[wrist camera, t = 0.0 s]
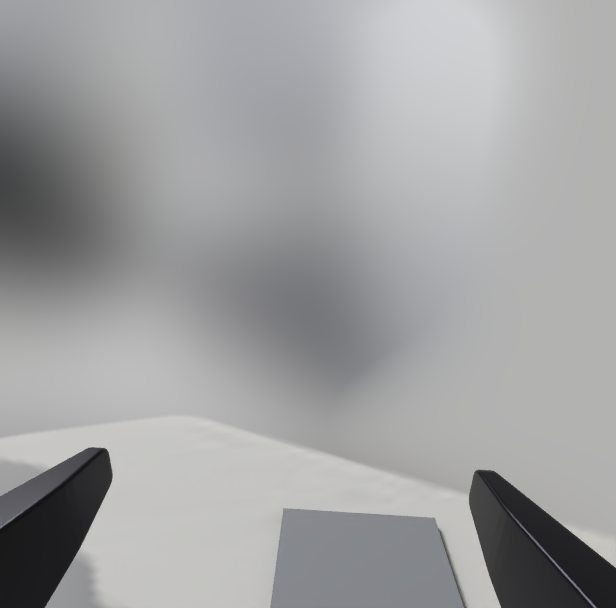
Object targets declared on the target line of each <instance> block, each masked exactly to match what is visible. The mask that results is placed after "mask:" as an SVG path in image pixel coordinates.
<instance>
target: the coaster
mask: <svg viewBox="0 0 616 608" xmlns="http://www.w3.org/2000/svg"><path fill="white" fill-rule="evenodd" d="M271 608H464V606H463V603H462V600H461V597H460V594H459V591H458V588H457V585H456V582H455V579H454V576H453V573H452V570H451V566H450V563H449V560H448V557H447V554H446V551H445V548H444V545H443V542H442V539H441V536H440V533H439V530H438V527H437V524H436V521H435V518H427V517H411V516H395V515H380V514H364V513H348V512H332V511H317V510H301V509H285V508H284V510H283V517H282V525H281V532H280V540H279V547H278V555H277V562H276V570H275V578H274V585H273V593H272V600H271Z"/></svg>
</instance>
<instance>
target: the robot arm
mask: <svg viewBox="0 0 616 608" xmlns="http://www.w3.org/2000/svg"><path fill="white" fill-rule="evenodd" d="M112 476H113V475H112V468H111V463H110V457H109V452H108V450H107V449H105V448H94V447H92V448H88V449H86V450H84V451H82V452H80V453H78V454H76V455H75V456H73V457H71V458H69V459H67V460H66V461H64V462H62V463H60V464H58V465H57V466H55V467H53V468H51V469H49V470H48V471H46V472H44V473H42V474H40V475H38V476H37V477H35V478H33V479H31V480H29V481H28V482H26V483H24V484H22V485H20V486H19V487H17V488H15V489H13V490H11V491H9V492H8V493H6V494H4V495H2V496H0V608H45V606H46V605H47V603H48V601H49V600H50V598H51V596H52V594H53V593H54V591H55V590H56V588H57V586H58V584H59V583H60V581H61V579H62V578H63V576H64V574H65V573H66V571H67V569H68V568H69V566H70V564H71V563H72V561H73V559H74V557H75V556H76V554H77V552H78V550H79V549H80V547H81V545H82V543H83V541H84V539H85V537H86V535H87V533H88V531H89V529H90V527H91V524H92V522H93V520H94V518H95V516H96V514H97V512H98V510H99V508H100V506H101V504H102V502H103V500H104V498H105V495H106V493H107V491H108V489H109V487H110V485H111V482H112ZM469 505H470V509H471V513H472V516H473V520H474V523H475V527H476V530H477V534H478V538H479V541H480V545H481V548H482V552H483V555H484V559H485V562H486V566H487V569H488V572H489V575H490V579H491V581H492V584H493V587H494V590H495V592H496V595H497V597H498V600H499V603H500V605H501V608H616V568H615V567H614V566H613V565H611V564H610V563H609V562H608V561H606V560H605V559H604V558H603V557H601V556H600V555H599V554H598V553H596V552H595V551H594V550H593V549H591V548H590V547H589V546H588V545H586V544H585V543H584V542H583V541H581V540H580V539H579V538H578V537H576V536H575V535H574V534H573V533H571V532H570V531H569V530H568V529H566V528H565V527H564V526H563V525H561V524H560V523H559V522H558V521H556V520H555V519H554V518H553V517H551V516H550V515H549V514H548V513H546V512H545V511H544V510H542V509H541V508H540V507H539V506H538V505H536V504H535V503H534V502H533V501H531V500H530V499H529V498H527V497H526V496H525V495H524V494H523V493H521V492H520V491H519V490H517V489H516V488H515V487H514V486H513V485H511V484H510V483H509V482H508V481H506V480H505V479H504V478H502V477H501V476H500V475H499V474H498V473H496V472H494V471H491V470H477V471H475V473H474V475H473V481H472V485H471V489H470V494H469Z"/></svg>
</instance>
